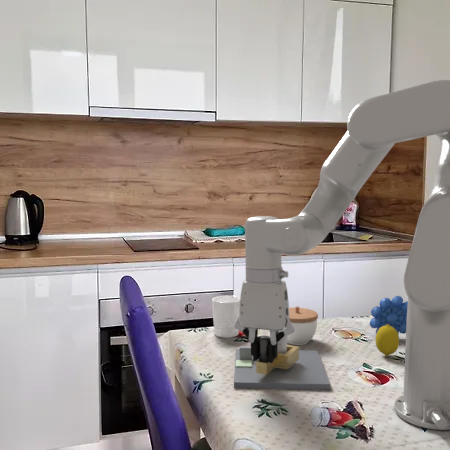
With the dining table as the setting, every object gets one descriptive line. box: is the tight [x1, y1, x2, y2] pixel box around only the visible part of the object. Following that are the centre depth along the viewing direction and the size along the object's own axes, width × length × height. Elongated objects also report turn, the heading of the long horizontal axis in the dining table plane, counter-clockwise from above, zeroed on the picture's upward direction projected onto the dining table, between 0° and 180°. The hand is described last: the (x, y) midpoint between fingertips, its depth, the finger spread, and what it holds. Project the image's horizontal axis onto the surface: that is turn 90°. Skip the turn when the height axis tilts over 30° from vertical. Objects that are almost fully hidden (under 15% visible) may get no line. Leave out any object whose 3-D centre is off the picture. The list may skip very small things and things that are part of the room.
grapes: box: [369, 295, 408, 335], centre depth 139 cm, size 12×7×12 cm, turn 72°
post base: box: [233, 328, 331, 391], centre depth 117 cm, size 20×20×10 cm
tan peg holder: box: [256, 335, 300, 375], centre depth 114 cm, size 13×7×8 cm, turn 151°
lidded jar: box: [287, 306, 319, 346], centre depth 137 cm, size 11×11×9 cm
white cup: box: [211, 294, 240, 339], centre depth 142 cm, size 8×8×10 cm
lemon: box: [375, 324, 400, 357], centre depth 126 cm, size 6×6×8 cm
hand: (264, 359), depth 110 cm, fingers closed on tan peg holder, 2 cm apart
